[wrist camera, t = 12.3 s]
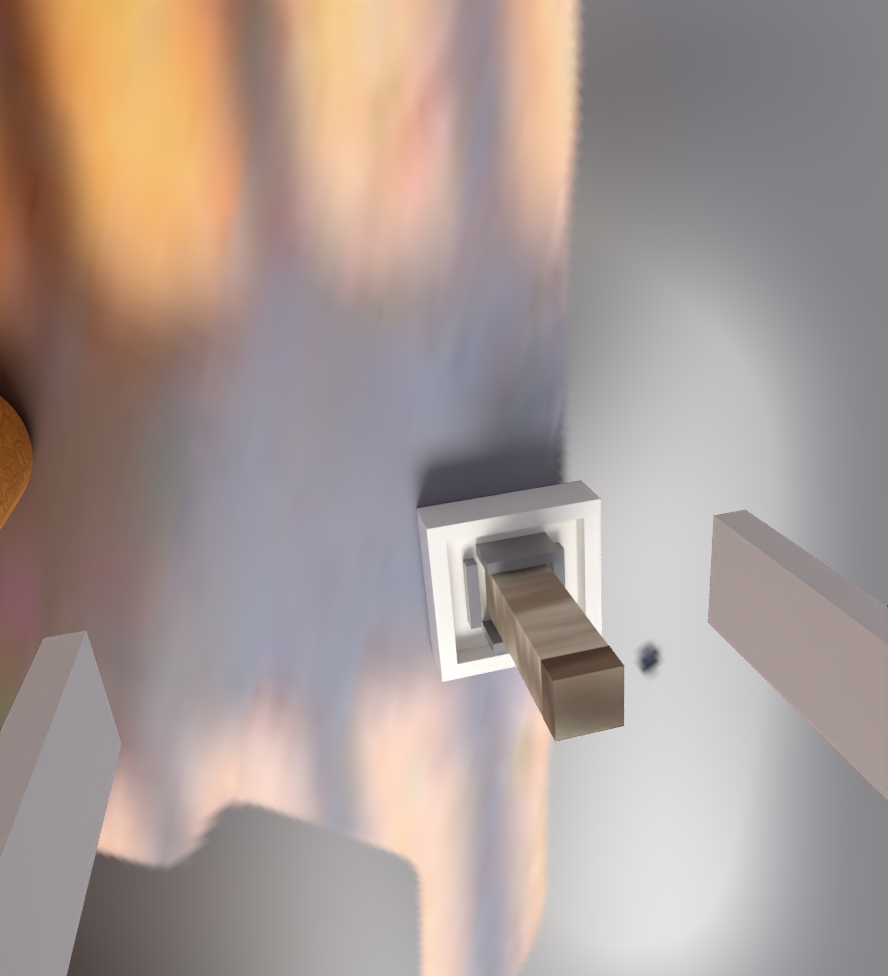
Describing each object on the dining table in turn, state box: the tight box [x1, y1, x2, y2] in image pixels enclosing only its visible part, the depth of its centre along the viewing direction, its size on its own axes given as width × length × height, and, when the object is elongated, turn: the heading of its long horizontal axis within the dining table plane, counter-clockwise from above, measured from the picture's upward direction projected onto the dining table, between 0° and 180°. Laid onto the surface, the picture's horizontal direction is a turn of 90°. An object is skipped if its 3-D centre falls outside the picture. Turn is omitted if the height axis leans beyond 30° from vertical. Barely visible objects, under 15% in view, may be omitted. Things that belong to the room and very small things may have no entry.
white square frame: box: [416, 481, 602, 682], centre depth 55 cm, size 12×12×5 cm
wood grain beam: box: [484, 564, 624, 741], centre depth 49 cm, size 4×4×14 cm
